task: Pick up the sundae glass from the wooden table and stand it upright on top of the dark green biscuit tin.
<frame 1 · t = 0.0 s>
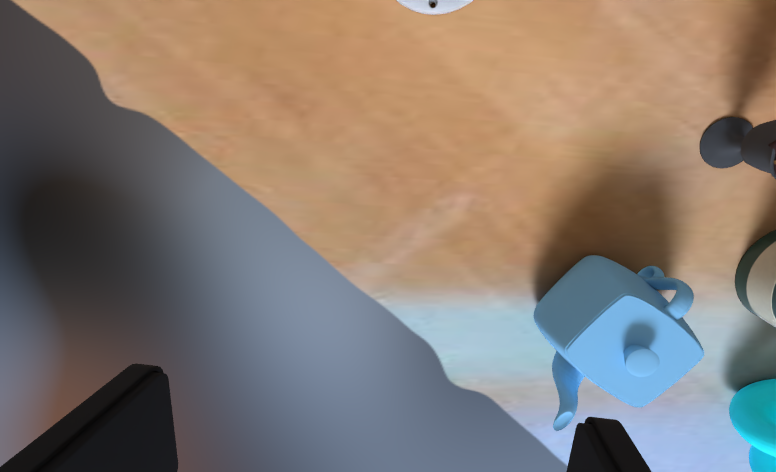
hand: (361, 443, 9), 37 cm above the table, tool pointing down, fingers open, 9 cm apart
sundae: (724, 142, 40), on the table
teapot: (583, 314, 46), on the table
donuts: (762, 409, 47), on the table
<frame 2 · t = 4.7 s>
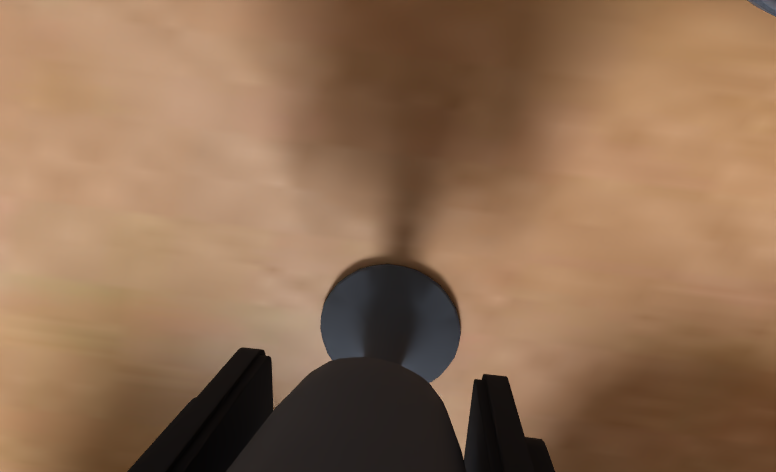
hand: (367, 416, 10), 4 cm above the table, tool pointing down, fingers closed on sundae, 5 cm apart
sundae: (388, 326, 14), on the table, touching gripper
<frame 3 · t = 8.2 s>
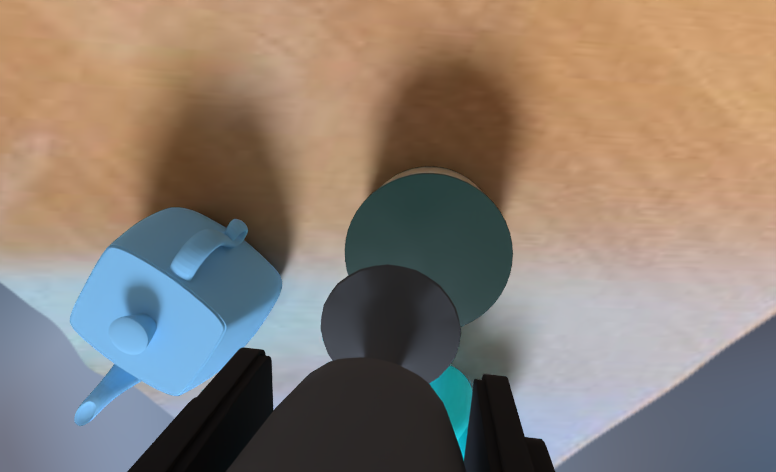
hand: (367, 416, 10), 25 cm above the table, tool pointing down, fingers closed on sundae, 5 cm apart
sundae: (388, 326, 14), point 20 cm above the table, touching gripper
teapot: (211, 285, 38), on the table
donuts: (435, 402, 38), on the table
tin: (428, 231, 34), on the table
when the fingers open (11 cm above the table, at t = 11.6 s): sundae stays where it is, resting on tin.
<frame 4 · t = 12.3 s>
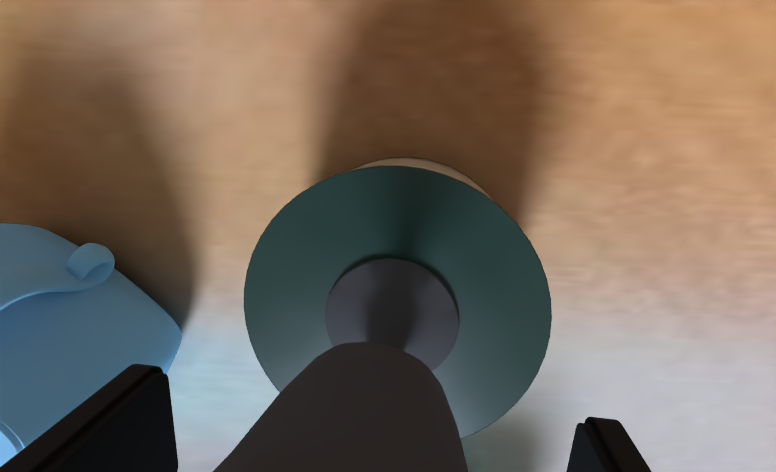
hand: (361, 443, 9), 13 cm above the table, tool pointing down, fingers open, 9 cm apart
sundae: (390, 318, 15), point 7 cm above the table, touching tin
teapot: (86, 336, 25), on the table
tin: (404, 260, 21), on the table, touching sundae
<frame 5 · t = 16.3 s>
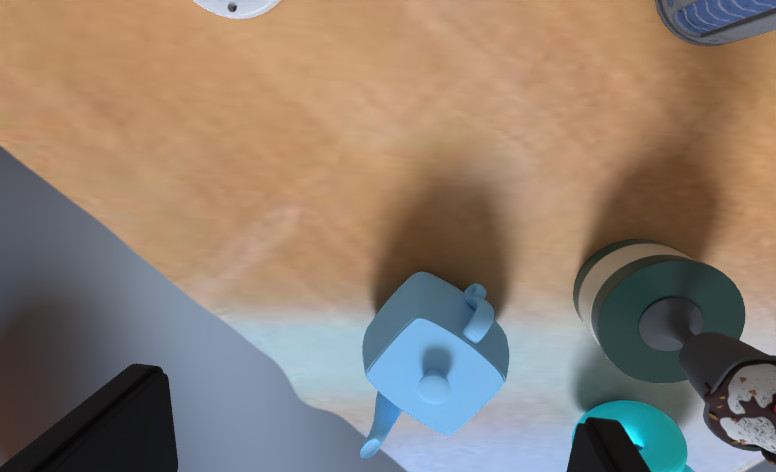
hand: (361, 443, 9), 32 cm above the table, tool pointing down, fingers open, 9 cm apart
sundae: (667, 322, 33), point 7 cm above the table, touching tin
teapot: (426, 332, 44), on the table
donuts: (615, 431, 45), on the table
tin: (630, 291, 40), on the table, touching sundae
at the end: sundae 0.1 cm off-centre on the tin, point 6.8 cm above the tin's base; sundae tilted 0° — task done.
